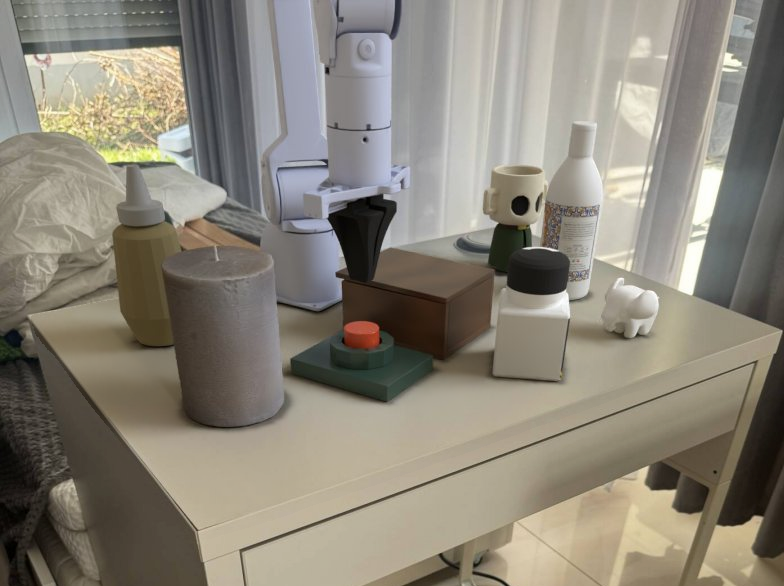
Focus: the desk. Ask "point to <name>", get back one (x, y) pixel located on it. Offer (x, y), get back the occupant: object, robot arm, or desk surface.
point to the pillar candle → (225, 333)
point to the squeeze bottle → (143, 261)
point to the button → (361, 334)
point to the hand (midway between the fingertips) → (361, 279)
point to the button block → (363, 366)
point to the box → (421, 316)
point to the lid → (423, 275)
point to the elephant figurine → (629, 309)
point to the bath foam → (575, 208)
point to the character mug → (513, 209)
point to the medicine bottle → (533, 316)
